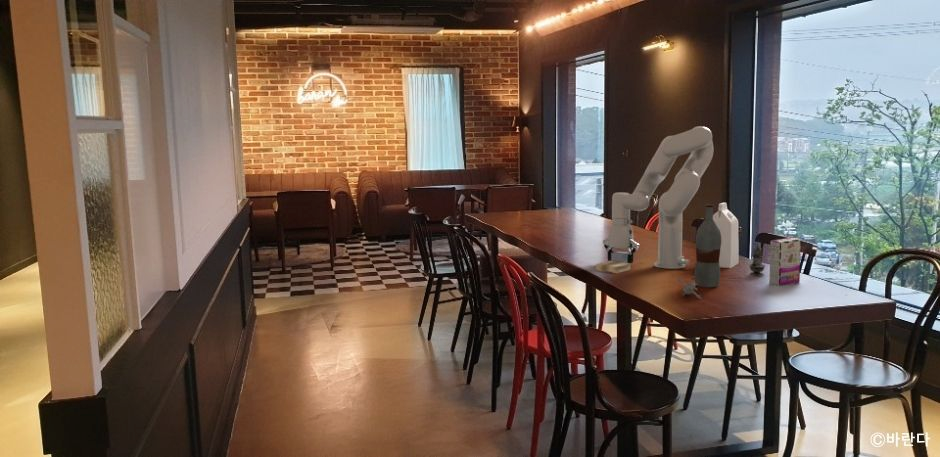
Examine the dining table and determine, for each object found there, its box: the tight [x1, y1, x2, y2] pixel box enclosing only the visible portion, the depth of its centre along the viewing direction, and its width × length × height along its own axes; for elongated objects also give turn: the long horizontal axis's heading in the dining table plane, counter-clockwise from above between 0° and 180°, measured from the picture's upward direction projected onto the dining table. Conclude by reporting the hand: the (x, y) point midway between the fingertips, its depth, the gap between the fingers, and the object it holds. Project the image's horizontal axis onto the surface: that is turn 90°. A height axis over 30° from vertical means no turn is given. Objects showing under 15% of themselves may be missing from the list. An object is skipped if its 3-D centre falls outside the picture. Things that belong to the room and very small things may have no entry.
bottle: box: [693, 203, 722, 288], centre depth 264 cm, size 9×9×30 cm
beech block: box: [595, 260, 631, 274], centre depth 296 cm, size 10×10×3 cm
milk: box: [713, 202, 740, 269], centre depth 303 cm, size 12×12×26 cm
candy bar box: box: [768, 237, 802, 287], centre depth 266 cm, size 11×5×16 cm, turn 118°
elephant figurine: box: [677, 278, 702, 300], centre depth 248 cm, size 10×6×9 cm
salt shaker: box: [748, 244, 766, 277], centre depth 282 cm, size 6×6×12 cm
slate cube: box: [611, 251, 629, 263], centre depth 305 cm, size 6×6×6 cm
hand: (620, 261), depth 306 cm, fingers open, 9 cm apart
